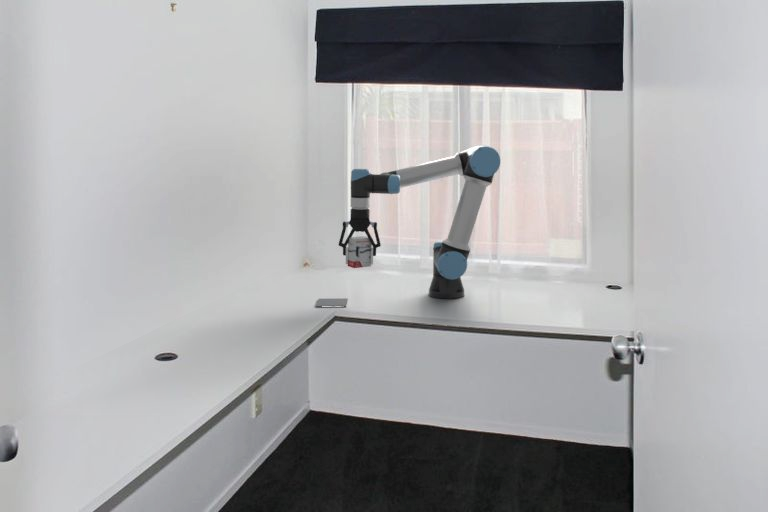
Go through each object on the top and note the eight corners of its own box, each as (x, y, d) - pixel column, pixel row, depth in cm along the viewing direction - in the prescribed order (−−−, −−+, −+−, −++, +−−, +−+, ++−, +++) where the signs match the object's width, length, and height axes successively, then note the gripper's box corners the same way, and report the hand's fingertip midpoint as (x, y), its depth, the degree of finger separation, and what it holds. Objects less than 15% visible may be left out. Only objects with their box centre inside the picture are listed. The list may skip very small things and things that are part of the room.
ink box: (353, 268, 242) (353, 238, 240) (347, 266, 247) (347, 237, 244) (371, 266, 247) (372, 237, 245) (365, 264, 251) (365, 235, 249)
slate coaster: (347, 299, 255) (347, 298, 255) (346, 307, 243) (346, 305, 243) (318, 300, 255) (318, 298, 255) (315, 307, 243) (315, 306, 243)
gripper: (387, 207, 247) (386, 262, 250) (332, 206, 246) (332, 261, 250) (388, 209, 239) (386, 265, 243) (331, 208, 239) (331, 264, 243)
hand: (359, 263), depth 247 cm, fingers closed on ink box, 9 cm apart
